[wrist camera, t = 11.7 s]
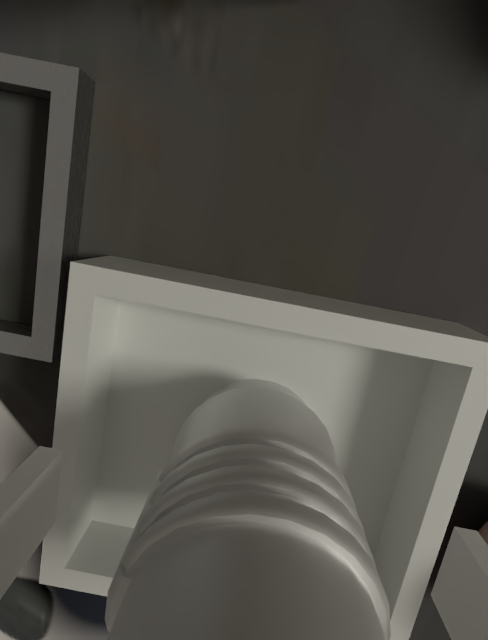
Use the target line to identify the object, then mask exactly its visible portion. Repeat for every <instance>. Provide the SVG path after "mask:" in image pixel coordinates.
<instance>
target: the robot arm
mask: <svg viewBox="0 0 488 640" xmlns="http://www.w3.org/2000/svg"><path fill="white" fill-rule="evenodd" d="M62 452H63V450H59V449H53V448H48V447H43V446H39V447H38V448H37V449H36V450H35V451H34V452H33V453H32V454H31V455H30V456H29V457H28V458H27V459H26V460H25V461H24V462H23V463H22V464H21V465H20V466H19V467H18V468H16V470H14V471H13V472H12V473H11V474H10V475H9V476H8V477H7V478H6V479H5V480H4V481H3V482H2V483H1V484H0V599H1V598H2V596H3V595H4V593H5V592H6V591H7V589H8V588H9V586H10V585H11V584H12V582H13V581H14V579H15V578H16V577H17V575H18V574H19V572H20V571H21V569H22V568H23V567H24V565H25V564H26V562H27V561H28V560H29V558H30V557H31V555H32V554H33V553H34V551H35V550H36V548H37V547H38V546H39V544H40V543H41V541H42V540H43V539H44V537H45V536H46V534H47V533H48V531H49V530H50V529H51V527H52V526H53V524H54V523H55V520H56V510H57V500H58V491H59V481H60V472H61V462H62ZM431 597H432V599H433V601H434V603H435V605H436V607H437V610H438V612H439V614H440V616H441V618H442V620H443V622H444V625H445V627H446V629H447V631H448V633H449V635H450V637H451V640H488V545H487V544H486V542H485V541H484V540H483V538H482V537H481V535H480V534H479V533H478V531H475V530H470V529H465V528H460V527H455V526H454V529H453V532H452V535H451V537H450V540H449V543H448V546H447V549H446V552H445V555H444V558H443V561H442V564H441V566H440V569H439V572H438V575H437V578H436V581H435V584H434V587H433V590H432V592H431Z"/></svg>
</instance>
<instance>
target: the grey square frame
mask: <svg viewBox="0 0 488 640" xmlns="http://www.w3.org/2000/svg"><path fill="white" fill-rule="evenodd" d="M94 84H95V82H94V81H93V80H92V79H91V78H90V77H89V76H88V75H86V74H85V73H84V72H83V71H82V70H81V69H80V68H77V67H72V66H67V65H61V64H56V63H51V62H46V61H41V60H36V59H31V58H25V57H20V56H15V55H10V54H5V53H0V90H4V91H9V92H15V93H20V94H25V95H30V96H35V97H40V98H46V99H51V100H50V113H49V125H48V137H47V150H46V162H45V175H44V187H43V199H42V212H41V224H40V237H39V249H38V261H37V274H36V286H35V299H34V311H33V323H32V326H30V325H25V324H20V323H15V322H10V321H5V320H0V353H5V354H10V355H15V356H20V357H25V358H30V359H35V360H41V361H46V362H51V363H52V362H54V361H55V360H57V359H59V358H60V357H61V353H62V343H63V332H64V322H65V312H66V302H67V291H68V281H69V271H70V262H71V261H77V253H78V243H79V233H80V223H81V213H82V203H83V193H84V183H85V173H86V163H87V154H88V144H89V134H90V124H91V114H92V104H93V94H94Z"/></svg>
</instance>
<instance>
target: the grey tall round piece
mask: <svg viewBox="0 0 488 640" xmlns="http://www.w3.org/2000/svg"><path fill="white" fill-rule="evenodd" d="M105 621H106V625H107V629H108V632H110V634H109V637H108V639H107V640H390V636H391V630H390V609H389V602H388V599H387V596H386V593H385V590H384V588H383V585H382V583H381V580H380V577H379V575H378V572H377V570H376V564H375V561H374V558H373V556H372V553H371V550H370V548H369V545H368V542H367V540H366V537H365V532H364V529H363V526H362V524H361V521H360V519H359V516H358V513H357V511H356V506H355V503H354V500H353V498H352V495H351V493H350V490H349V487H348V485H347V482H346V479H345V477H344V476H343V475H342V473H341V472H340V471H339V469H338V467H337V462H336V456H335V451H334V446H333V444H332V441H331V439H330V436H329V433H328V431H327V428H326V427H325V426H324V424H323V423H322V422H321V420H320V419H319V418H318V416H317V415H316V414H315V412H313V411H312V410H311V409H310V408H308V406H307V405H306V404H305V402H304V401H303V400H302V398H300V397H299V396H298V395H297V394H295V393H294V392H293V391H291V390H290V389H289V388H287V387H285V386H282V385H280V384H278V383H275V382H273V381H267V380H260V379H248V380H238V381H236V382H233V383H230V384H227V385H225V386H222V387H221V388H219V389H218V390H217V391H215V392H214V393H212V394H211V395H209V397H208V398H207V399H206V400H205V401H204V403H203V404H201V405H200V406H198V407H197V408H196V409H195V410H194V411H193V412H192V413H191V415H190V416H189V417H188V418H187V419H186V421H185V422H184V423H183V425H182V427H181V429H180V432H179V434H178V436H177V438H176V441H175V444H174V448H173V452H172V456H171V460H170V462H169V463H168V464H167V465H166V466H165V468H164V469H163V470H161V469H160V470H159V472H158V475H157V477H156V479H155V482H154V484H153V486H152V489H151V491H150V493H149V496H148V498H147V500H146V503H145V505H144V507H143V510H142V512H141V514H140V517H139V519H138V521H137V524H136V526H135V528H134V531H133V533H132V536H131V538H130V540H129V543H128V545H127V547H126V550H125V552H124V554H123V557H122V559H121V561H120V564H119V566H118V568H117V571H116V573H115V575H114V578H113V580H112V582H111V585H110V587H109V590H108V595H107V605H106V614H105Z"/></svg>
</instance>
